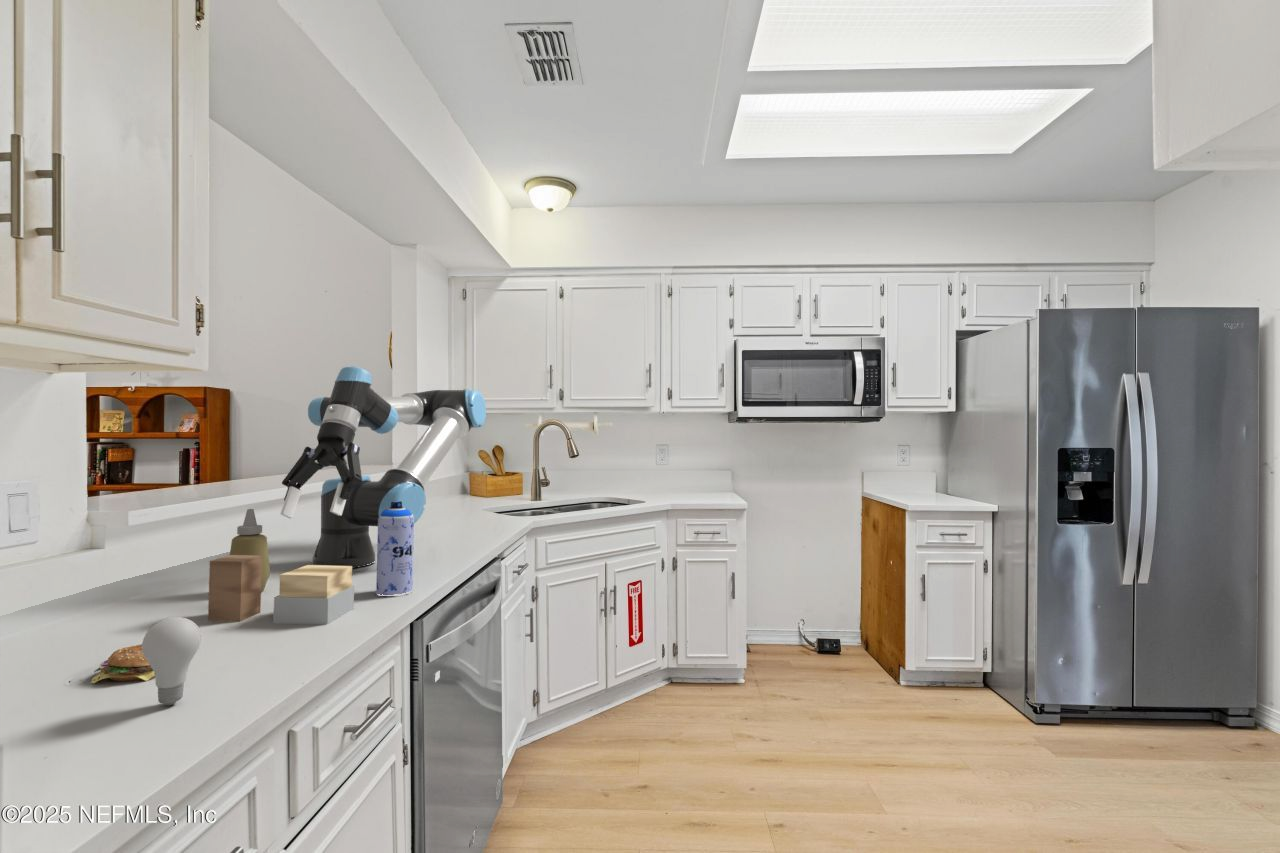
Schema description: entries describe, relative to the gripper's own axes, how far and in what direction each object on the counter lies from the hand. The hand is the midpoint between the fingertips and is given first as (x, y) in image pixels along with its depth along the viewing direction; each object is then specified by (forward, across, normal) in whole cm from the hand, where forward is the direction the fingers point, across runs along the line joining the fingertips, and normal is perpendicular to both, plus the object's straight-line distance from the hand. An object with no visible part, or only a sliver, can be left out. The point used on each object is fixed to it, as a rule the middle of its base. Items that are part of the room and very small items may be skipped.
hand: (310, 515), depth 138 cm
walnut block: (+23, -1, -9) cm, 25 cm away
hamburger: (+36, +10, -31) cm, 49 cm away
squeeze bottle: (+16, -14, +4) cm, 22 cm away
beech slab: (+18, +13, -5) cm, 23 cm away
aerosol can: (+13, +14, +15) cm, 25 cm away
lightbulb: (+40, +27, -36) cm, 60 cm away
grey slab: (+22, +13, -3) cm, 26 cm away
